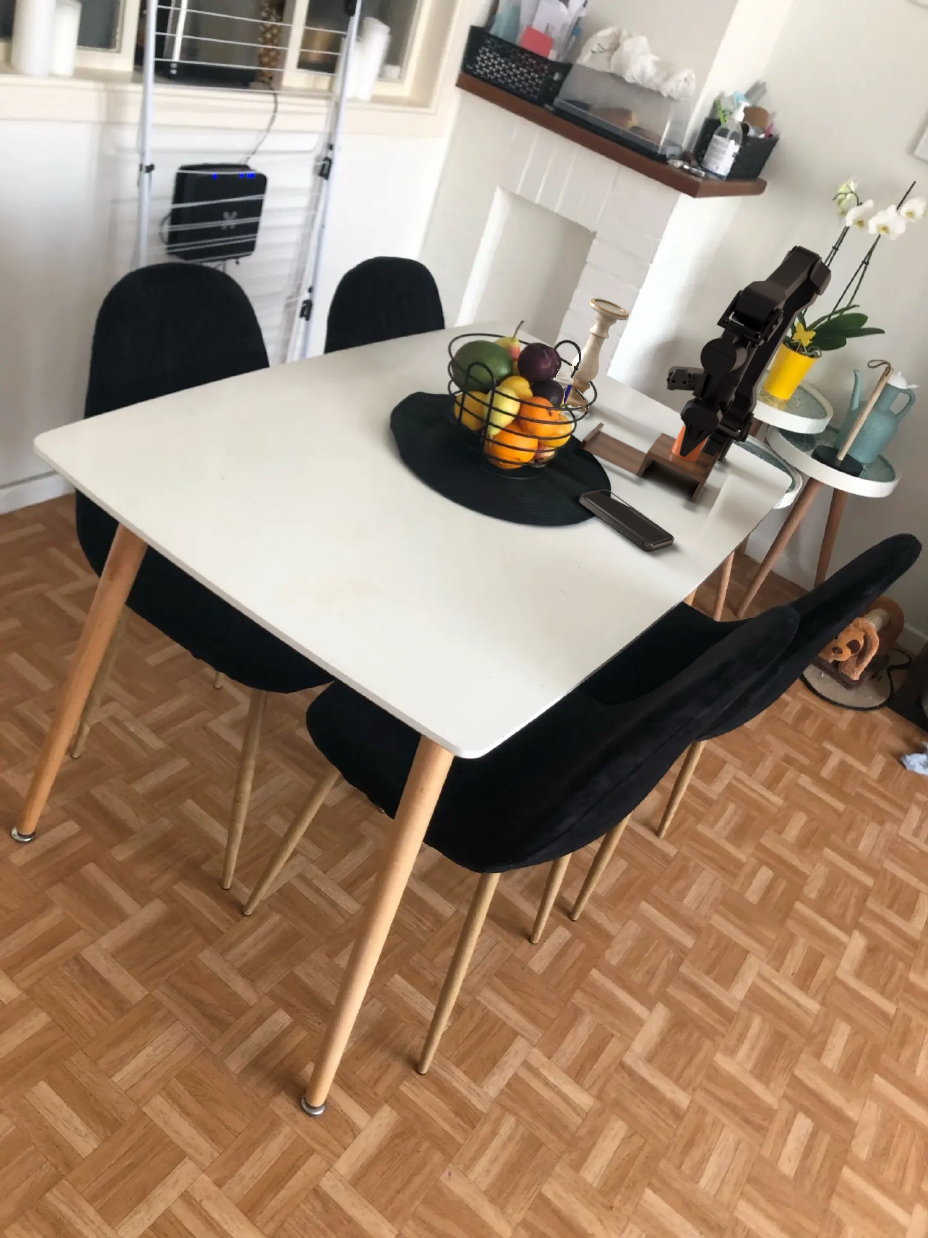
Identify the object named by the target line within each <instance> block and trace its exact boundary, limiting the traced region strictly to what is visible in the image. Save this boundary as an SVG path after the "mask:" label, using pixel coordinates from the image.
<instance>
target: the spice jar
mask: <svg viewBox="0 0 928 1238" xmlns="http://www.w3.org/2000/svg"><path fill="white" fill-rule="evenodd" d="M684 432H685V424H684V422H683V423H682V426H681V428H680V430H679V432H678V434H677V437H676V438H675V439H676V440H675V442H674V444H673V447H672V449H671V451H672V452H673V453H674V454H675V455H676V456H678V457H679V458H681V459H683V460H686V461H690V462H695V461H697V459H698V457H699V455H700V453H701V451H702V449H703V447H704V445H705V443H706V441H707V439H708V437H707V438H706V439H705V440H704V441H703V442H702V443H700V444H699V445H698V446H697V447H696V448H695V449H694V450H692V451H691V452H690V453H689V454H688V455H687V456H686V457H683V456H681V455H680V454H679V453H680V449H681V445H682V441H683V437H684Z"/></svg>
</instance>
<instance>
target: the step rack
mask: <svg viewBox="0 0 928 1238" xmlns="http://www.w3.org/2000/svg"><path fill="white" fill-rule="evenodd" d="M604 426H605V424H604V423H603V422H599V423H598V424H597V425H596V426H595V427H594V428H593V429H592V430H591V431H590V432H589V433H588V434H587V435H586V436H585V437H584V438H583V439H582V441H581V443H580V445H579V448H580V449H582V450H584V451H586V452H588V453H589V454H592V455H594V456H596V457H599V458H601V459H603V460H604V461H607V462H608V463H611V464H613V465H615V466H617V467H619V468H621V469H623V470H625V471H627V472H629V473H631V474H633V475H635V476H638V477H639V478H641V477H642V476H643V474H644V473H645V472H646V470H647V469H648V468H649V466H650V465H652V462H653V461H656V462H659V463H660V464H662V465H664V466H666V467H668V468H669V469H670V468H671V469H672V470H675V471H677V472H679V473H681V474H682V475H685V476H687V477H689V478H690V479H693V480H695V481H697V482H699V483H698V485H697V487H696V489H695V491H694V492H693V495H692V497H691V499H690V501H689V502H690V503H693V504H695V503H696V501H697V499H698V497H699V496H700V494H701V492H702V491H703V489H704V487H705V485H706V483H707V481H708V480H709V477H710V476H711V474H712V472H713V471H714V468H715V466H716V464H717V463H718V461H717V460H718V458H719V457H720V455H721V453H719V452H716V454H715V456H714V457H712V456H710V455H708V454H706V453H704V452H702V451H701V453H700V455H699V457H698V459H697V461H695V462H690V461H686V460H683V459H681V458H679V457H678V456H676V455H675V454H674V453H673V452H672V451H671V449H672V447H673V444H674V442H675V440H676V438H675V437H673V436H671V435H669V434H667V433H664V432H661V433H660V435H659V436H658V437H657V438H656V440H655V441H654V442H653V444H652V445H651V446H650V447H649V449H647V451H646V452H644V451H643V450H640V449H638V448H636V447H634V446H632V445H630V444H628V443H625V442H624V441H622V440H620V439H617V438H615V437H613V436H611V435H609V434H608V433H605V432H604V431H603V428H604Z"/></svg>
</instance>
